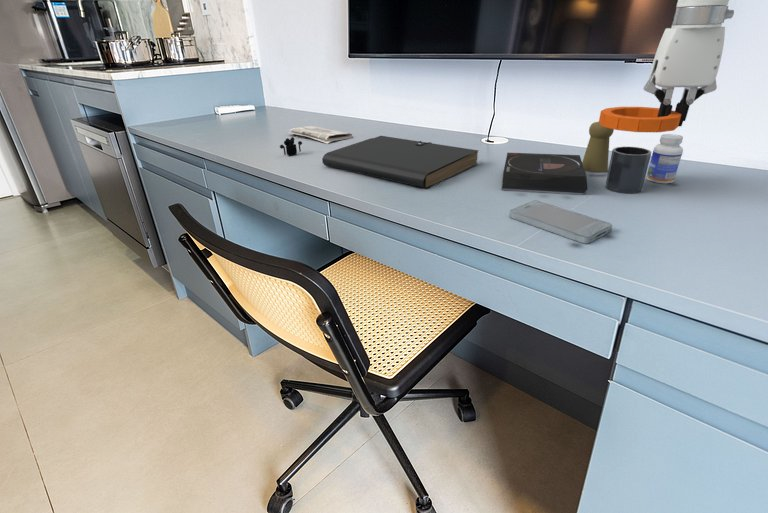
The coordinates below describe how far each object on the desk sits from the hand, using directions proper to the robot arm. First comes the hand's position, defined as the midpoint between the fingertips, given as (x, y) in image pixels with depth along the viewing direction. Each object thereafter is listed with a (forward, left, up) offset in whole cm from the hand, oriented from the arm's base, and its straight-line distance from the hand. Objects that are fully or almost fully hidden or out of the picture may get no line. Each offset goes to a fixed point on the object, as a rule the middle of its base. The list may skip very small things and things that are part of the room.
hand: (669, 124), depth 86 cm
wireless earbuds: (+91, -23, -13) cm, 95 cm away
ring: (+6, 0, 0) cm, 6 cm away
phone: (+22, +21, -13) cm, 33 cm away
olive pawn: (+9, -14, -13) cm, 21 cm away
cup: (+6, 0, -13) cm, 15 cm away
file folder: (+57, -13, -13) cm, 60 cm away
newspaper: (+90, -47, -13) cm, 103 cm away
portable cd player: (+22, -4, -13) cm, 26 cm away
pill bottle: (-3, -6, -13) cm, 15 cm away
